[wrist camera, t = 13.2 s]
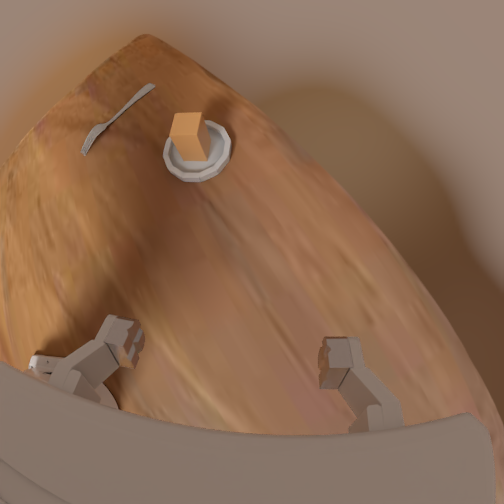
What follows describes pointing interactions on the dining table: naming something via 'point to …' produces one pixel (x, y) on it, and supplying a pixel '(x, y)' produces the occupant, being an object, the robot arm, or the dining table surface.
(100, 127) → the fork
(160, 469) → the robot arm
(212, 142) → the ring dish
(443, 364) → the dining table surface
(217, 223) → the dining table surface
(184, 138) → the wooden toy brick
